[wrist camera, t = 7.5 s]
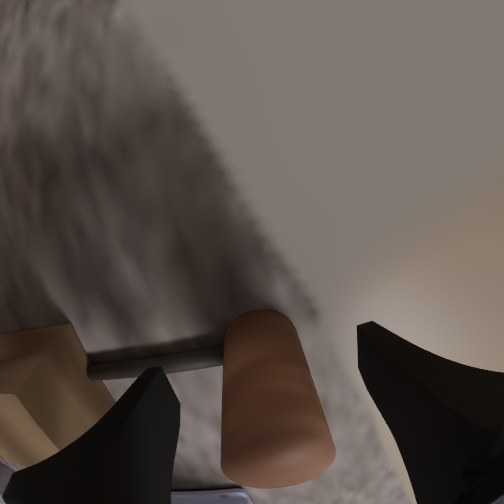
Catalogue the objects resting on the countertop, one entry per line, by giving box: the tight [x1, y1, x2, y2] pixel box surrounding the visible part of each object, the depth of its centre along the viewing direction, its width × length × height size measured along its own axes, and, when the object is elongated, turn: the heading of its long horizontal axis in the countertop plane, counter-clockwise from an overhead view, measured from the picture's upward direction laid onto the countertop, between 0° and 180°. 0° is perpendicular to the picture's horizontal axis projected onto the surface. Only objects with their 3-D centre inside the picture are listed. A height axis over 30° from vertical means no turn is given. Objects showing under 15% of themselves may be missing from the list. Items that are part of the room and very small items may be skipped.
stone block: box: [0, 463, 15, 504], centre depth 17 cm, size 12×5×10 cm
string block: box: [0, 310, 336, 488], centre depth 9 cm, size 16×5×6 cm, turn 102°
